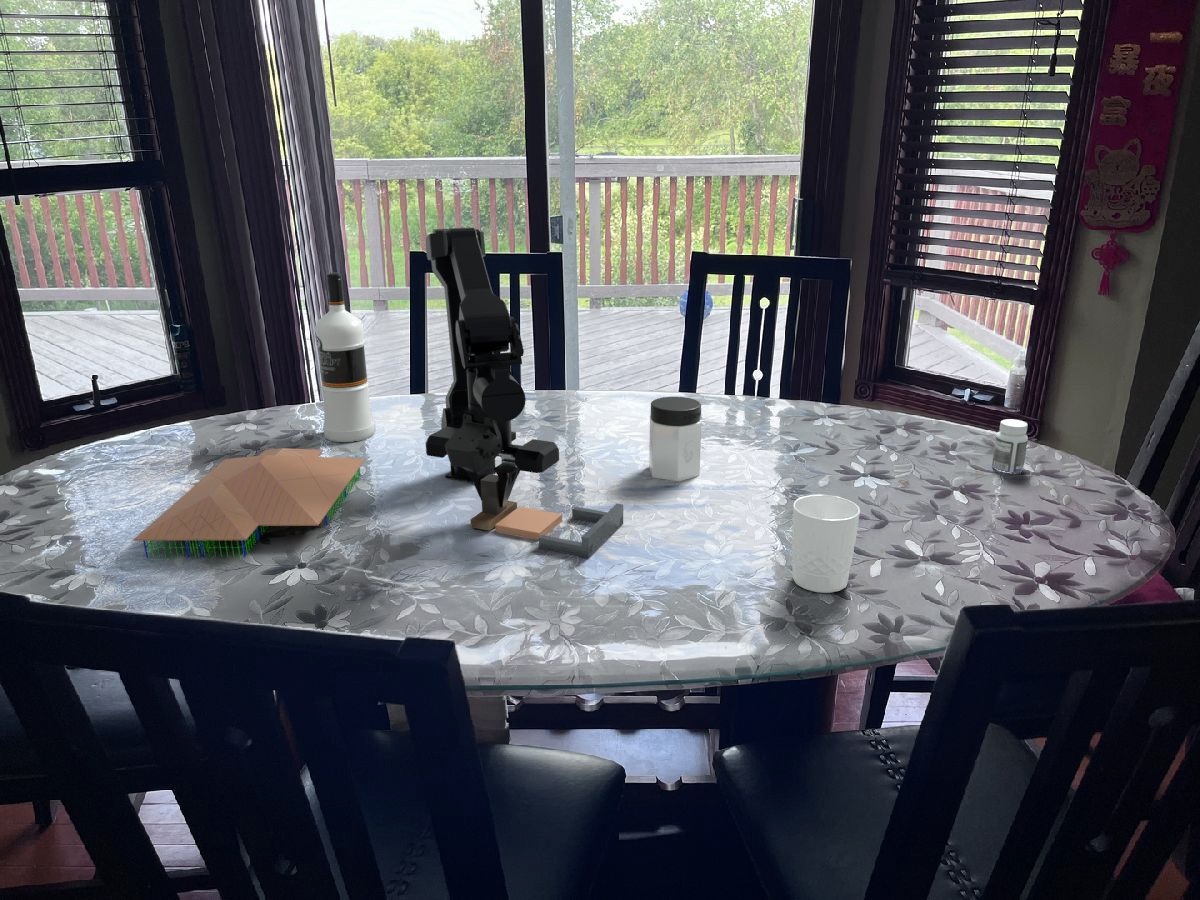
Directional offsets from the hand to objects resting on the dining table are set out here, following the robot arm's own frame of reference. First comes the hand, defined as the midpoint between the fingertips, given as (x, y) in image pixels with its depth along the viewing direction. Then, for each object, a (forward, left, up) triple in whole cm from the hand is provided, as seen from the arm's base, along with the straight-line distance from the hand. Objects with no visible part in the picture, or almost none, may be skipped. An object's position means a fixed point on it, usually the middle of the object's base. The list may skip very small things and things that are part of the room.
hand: (494, 505), depth 128 cm
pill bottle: (+68, +50, -3) cm, 84 cm away
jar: (+18, +28, -3) cm, 33 cm away
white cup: (+47, 0, -3) cm, 47 cm away
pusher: (0, 0, -2) cm, 2 cm away
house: (-33, -10, -3) cm, 35 cm away
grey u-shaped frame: (+14, 0, -2) cm, 14 cm away
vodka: (-43, +22, -3) cm, 49 cm away
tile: (+6, 0, -3) cm, 6 cm away
